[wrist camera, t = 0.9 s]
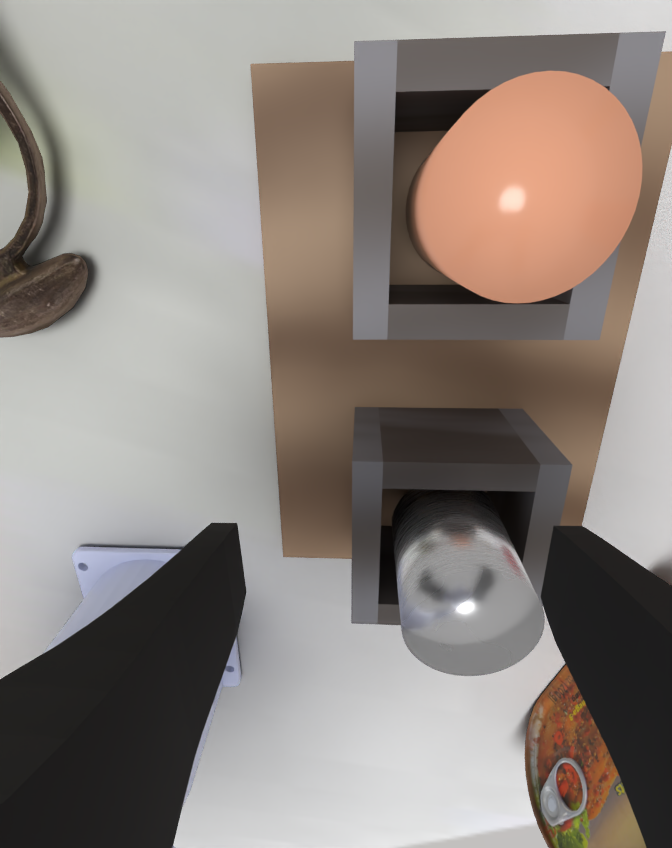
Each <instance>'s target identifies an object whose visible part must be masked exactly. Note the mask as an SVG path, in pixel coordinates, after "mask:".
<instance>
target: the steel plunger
mask: <svg viewBox="0 0 672 848" xmlns="http://www.w3.org/2000/svg"><path fill="white" fill-rule="evenodd" d="M392 536H393V546H394V556H395V567H396V577H397V588H398V598H399V609H400V619H401V629H402V635H403V638H404V641H405V644H406V645H407V647H408V649H409V650H410V651H411V653H412V654H413V655H414V656H415V657H416V658H417V659H418V660H420V661H421V662H423V663H424V664H425V665H427V666H429V667H431V668H433V669H435V670H438V671H441V672H444V673H448V674H453V675H461V676H477V675H485V674H490V673H494V672H498V671H501V670H503V669H506V668H508V667H510V666H512V665H514V664H516V663H517V662H519V661H520V660H522V659H523V658H524V657H526V656H527V655H528V654H529V653H530V652H531V651H532V650H533V649H534V647H535V646H536V645H537V643H538V642H539V640H540V638H541V636H542V632H543V629H544V622H545V621H544V612H543V608H542V605H541V603H540V601H539V599H538V597H537V594H536V592H535V590H534V588H533V586H532V584H531V582H530V580H529V578H528V575H527V573H526V571H525V569H524V567H523V565H522V563H521V561H520V559H519V557H518V554H517V552H516V550H515V548H514V546H513V544H512V542H511V540H510V538H509V535H508V533H507V531H506V529H505V527H504V525H503V523H502V521H501V519H500V517H499V514H498V512H497V510H496V508H495V506H494V504H493V502H492V500H491V499H490V497H489V496H488V495H487V494H486V493H485V492H484V491H477V490H426V489H411V490H409V491H408V492H407V493H406V494H405V495H404V496H403V497H402V498H401V499H400V500H399V502H398V504H397V505H396V507H395V509H394V512H393V516H392Z"/></svg>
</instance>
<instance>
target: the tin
mask: <svg viewBox="0 0 672 848" xmlns="http://www.w3.org/2000/svg"><path fill="white" fill-rule="evenodd" d="M525 771H526V779H527V785H528V792H529V797H530V801H531V805H532V809H533V812H534V815H535V818H536V821H537V824H538V826H539V829H540V831H541V833H542V835H543V838H544V840H545V841H546V843H547V845H548V847H549V848H646V845H645V842H644V840H643V837H642V834H641V831H640V829H639V826H638V823H637V821H636V818H635V816H634V813H633V810H632V808H631V805H630V803H629V800H628V797H627V795H626V792H625V790H624V787H623V784H622V782H621V779H620V776H619V774H618V772H617V769H616V767H615V765H614V763H613V760H612V758H611V756H610V754H609V751H608V749H607V747H606V745H605V743H604V741H603V739H602V737H601V735H600V732H599V730H598V728H597V726H596V724H595V722H594V720H593V718H592V716H591V714H590V712H589V710H588V708H587V706H586V704H585V702H584V700H583V698H582V696H581V694H580V692H579V690H578V687H577V685H576V683H575V681H574V679H573V677H572V675H571V673H570V671H569V669H568V667H567V665H565V666H564V667H563V669H562V670H561V671H560V672H559V673H558V675H557V676H556V677H555V678H554V680H553V681H552V682H551V683H550V685H549V686H548V687H547V688H546V689H545V691H544V692H543V693H542V695H541V696H540V697H539V699H538V700H537V702H536V704H535V706H534V708H533V711H532V714H531V717H530V720H529V724H528V728H527V733H526V741H525Z"/></svg>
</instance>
